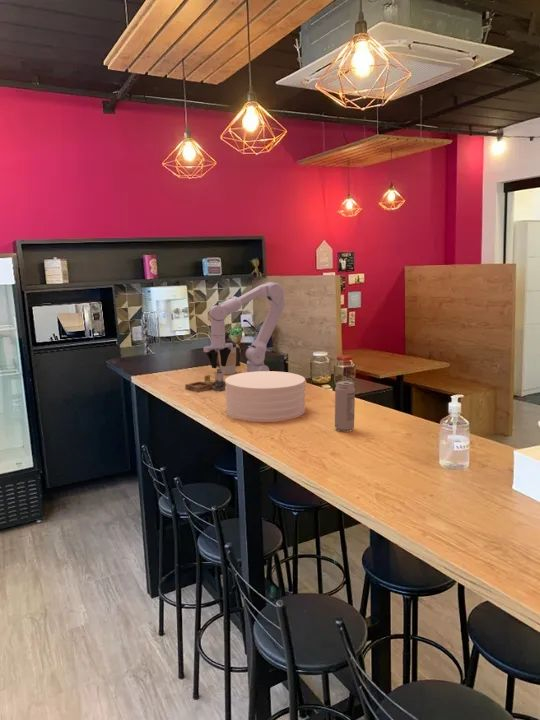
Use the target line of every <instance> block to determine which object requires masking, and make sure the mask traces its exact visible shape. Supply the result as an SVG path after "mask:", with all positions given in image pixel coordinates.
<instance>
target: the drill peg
mask: <svg viewBox="0 0 540 720" xmlns="http://www.w3.org/2000/svg"><path fill="white" fill-rule="evenodd" d="M214 381H215V386H217V387H221V386H224V385H223V381H224V374H223V372H221V369H220V368H216V371H215V372H214Z"/></svg>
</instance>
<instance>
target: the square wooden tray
mask: <svg viewBox="0 0 540 720" xmlns="http://www.w3.org/2000/svg"><path fill="white" fill-rule="evenodd" d="M184 386H185V387H184V388H185V390H186V391H191V392H195V391H196V392H195V393H201V392H205V390H206V391H209V389H210V387H213V384H210V383H206V382H204V381H200V380H199V381H196V382H195V381H194V382H190V383H186V384H184ZM200 391H201V392H200Z"/></svg>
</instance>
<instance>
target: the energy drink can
mask: <svg viewBox="0 0 540 720" xmlns="http://www.w3.org/2000/svg"><path fill="white" fill-rule="evenodd" d="M334 390H335V391H334V428H336V431H338V430H339V431H338V432H341V431H349V432H351V431H350V430H352V431H353V429H354V428H355V409H356V408H355V407H356V406H355V402H356V398H355V397H356V388H355V386H354V382H353V381H348V380H341V381H338V382H337V384H336V386H335V389H334Z"/></svg>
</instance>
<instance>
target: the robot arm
mask: <svg viewBox="0 0 540 720" xmlns="http://www.w3.org/2000/svg"><path fill="white" fill-rule="evenodd" d="M258 297H266V298H267V299H268V302H269V304H270V308H269V310H268V313H267V315H266V316H265V319H264V320H263V321H264V322H263V323H262V325H261V328H260V329H259V332H258V333H257V335H256V338H255V340H254V341H253V342H252V343H251V345H249V347H248V348H247V349H246V350H245V357H246V359H247V361H246V372H256V371H270V368H269V366H268V365H266V364H265V362H264V361H265V359H266V352H267V345H268V343H269V340H270V339H271V336H272V334H273V332H274V330H275V328H276V326H277V324H278V321H279V319H280V317H281V315H282V313H283V311H284V309H285V290H284V288H283V287H282V285H281V284H280V283H279V282H272V281H267V282H265V283H262V284H259V285H258V286H256V287H254V288H252V289H250V290H249V291H247V292H245V293H244V294H242V295H240V296H238V297H237V296H235V295H234V296H232V295H231V296H229V297H228V299H226V300H224V301H222V302H218V305H217V304H216V305H213V306H212V307H211V308H210V309H209V311H208V314H209V317H210V319H211V320H210V323H211V324H210V338H211V340H210V341H211V344H210V345H207V346H203V353H206V355H207V357H208V360H209V362H210V365H211V368H212V369H217V368H218V366H217V356H218V352H216V351H215V350H219V353H220V357H221V366H226V363H227V359H228V356H229V354H230V352H231V349H229V348H233V343H226V344H225V332H226V329H225V328H226V324H225V318H226V316H229V315H231V314H233V313H235V312H237V311H238V310H240V309H241V308H242V306H243V305H244V304H246V303H249V301H252V300H254V299H257V298H258ZM217 348H218V349H217Z"/></svg>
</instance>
